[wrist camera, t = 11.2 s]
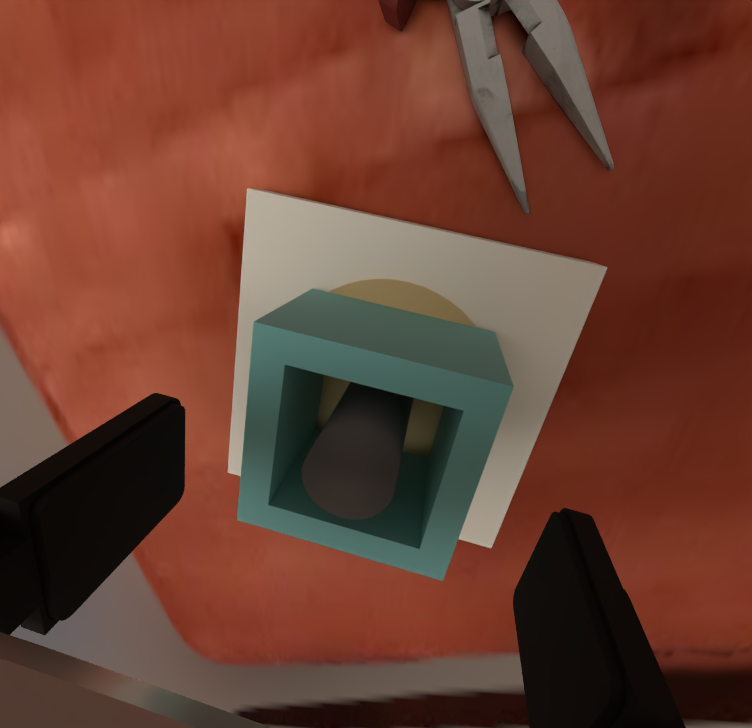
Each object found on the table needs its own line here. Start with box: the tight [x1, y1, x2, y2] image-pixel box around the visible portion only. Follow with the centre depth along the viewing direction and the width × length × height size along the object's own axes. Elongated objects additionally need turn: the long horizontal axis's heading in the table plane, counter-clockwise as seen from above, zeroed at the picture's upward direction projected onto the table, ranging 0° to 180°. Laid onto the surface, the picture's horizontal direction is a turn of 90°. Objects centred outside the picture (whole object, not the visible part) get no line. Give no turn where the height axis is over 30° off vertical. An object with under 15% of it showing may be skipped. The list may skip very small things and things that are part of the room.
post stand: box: [228, 188, 608, 548], centre depth 15 cm, size 13×13×8 cm
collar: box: [237, 288, 514, 581], centre depth 14 cm, size 7×7×5 cm
